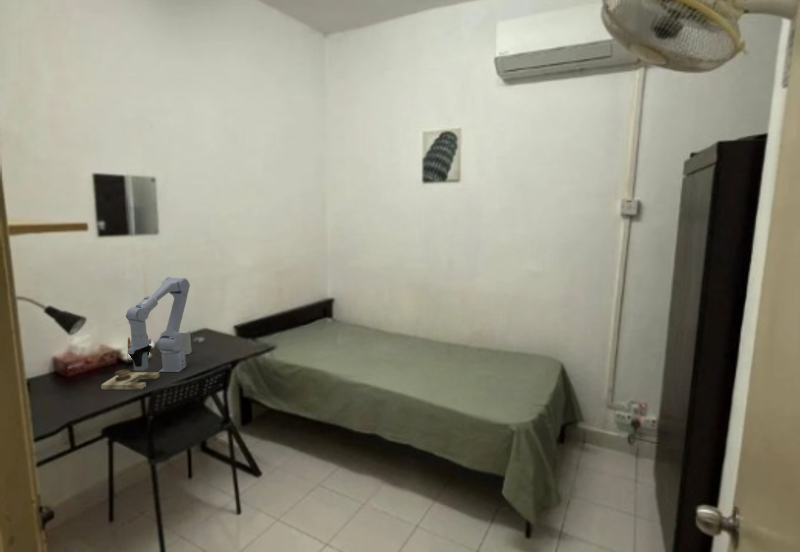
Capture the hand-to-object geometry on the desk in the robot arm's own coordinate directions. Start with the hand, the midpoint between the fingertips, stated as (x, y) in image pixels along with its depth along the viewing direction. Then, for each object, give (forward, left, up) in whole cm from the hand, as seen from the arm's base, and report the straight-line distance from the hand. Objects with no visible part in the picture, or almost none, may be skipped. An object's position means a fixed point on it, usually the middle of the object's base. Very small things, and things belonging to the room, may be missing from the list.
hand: (141, 364), depth 189 cm
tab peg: (0, 0, -2) cm, 2 cm away
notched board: (+5, 0, -8) cm, 10 cm away
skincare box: (-1, -38, -9) cm, 39 cm away
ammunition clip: (+19, -32, -9) cm, 38 cm away
